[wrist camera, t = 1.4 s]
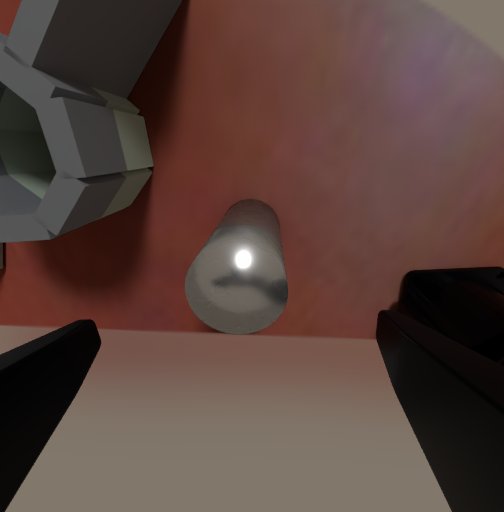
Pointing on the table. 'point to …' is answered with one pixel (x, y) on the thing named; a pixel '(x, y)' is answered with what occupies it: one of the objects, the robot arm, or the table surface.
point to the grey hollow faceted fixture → (74, 103)
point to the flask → (1, 255)
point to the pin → (240, 271)
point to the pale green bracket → (38, 157)
